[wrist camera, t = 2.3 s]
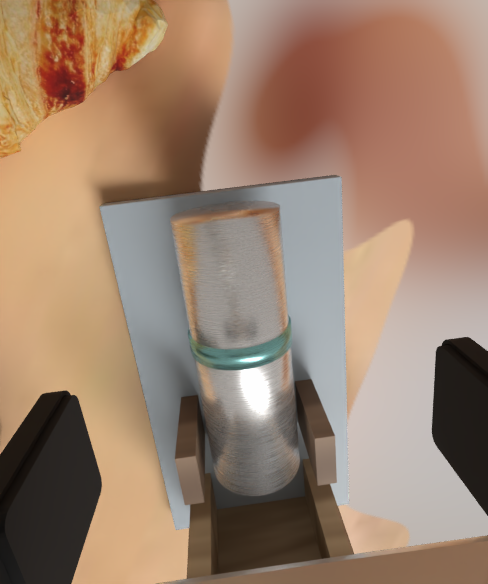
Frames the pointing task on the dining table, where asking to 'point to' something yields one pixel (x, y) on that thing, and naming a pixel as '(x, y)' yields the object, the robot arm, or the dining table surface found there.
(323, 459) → the guide
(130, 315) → the board
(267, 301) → the tube
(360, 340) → the dining table surface
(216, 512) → the socket
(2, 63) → the croissant
